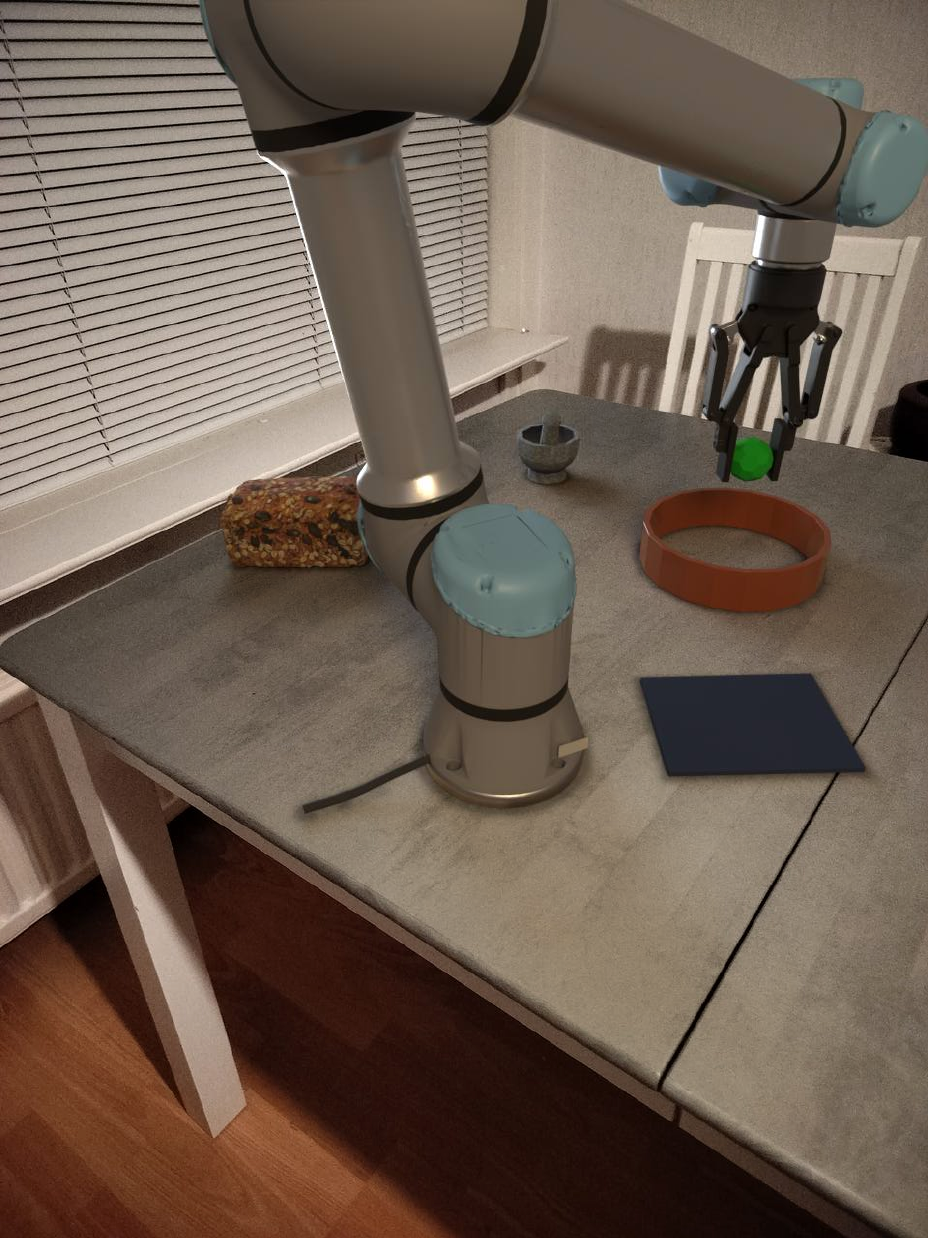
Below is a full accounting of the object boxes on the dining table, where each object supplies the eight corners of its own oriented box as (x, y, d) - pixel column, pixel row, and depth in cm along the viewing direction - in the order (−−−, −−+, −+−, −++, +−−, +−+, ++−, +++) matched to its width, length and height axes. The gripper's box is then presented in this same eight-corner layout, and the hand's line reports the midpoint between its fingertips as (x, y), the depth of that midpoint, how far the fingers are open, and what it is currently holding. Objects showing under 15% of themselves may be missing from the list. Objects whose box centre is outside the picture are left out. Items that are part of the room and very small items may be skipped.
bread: (379, 533, 116) (373, 467, 110) (366, 572, 107) (358, 503, 101) (250, 531, 117) (237, 466, 112) (226, 569, 109) (211, 500, 103)
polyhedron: (738, 490, 93) (746, 450, 90) (715, 473, 97) (722, 434, 94) (777, 484, 94) (785, 444, 92) (752, 467, 98) (760, 429, 95)
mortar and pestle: (515, 463, 135) (516, 391, 128) (573, 462, 135) (577, 390, 128) (518, 493, 126) (520, 417, 119) (580, 492, 126) (585, 416, 119)
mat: (668, 776, 76) (669, 772, 75) (639, 681, 87) (640, 677, 87) (864, 772, 76) (866, 767, 75) (809, 677, 87) (811, 673, 87)
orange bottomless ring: (659, 614, 98) (664, 574, 95) (626, 525, 116) (630, 489, 113) (850, 609, 98) (861, 569, 95) (786, 521, 116) (794, 485, 113)
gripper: (861, 253, 86) (811, 462, 99) (689, 255, 85) (661, 465, 98) (894, 267, 79) (836, 488, 92) (709, 270, 79) (676, 492, 92)
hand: (746, 476), depth 95 cm, fingers closed on polyhedron, 5 cm apart
